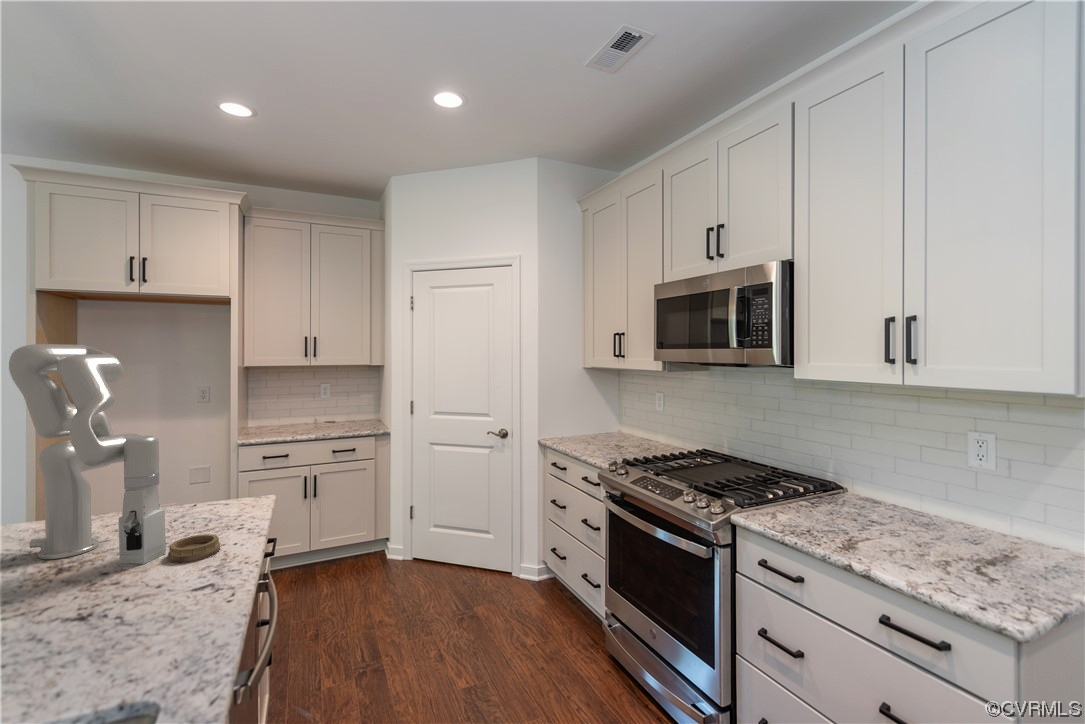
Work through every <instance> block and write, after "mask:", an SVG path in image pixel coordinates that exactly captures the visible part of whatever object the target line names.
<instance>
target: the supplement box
mask: <svg viewBox="0 0 1085 724" xmlns="http://www.w3.org/2000/svg"><path fill="white" fill-rule="evenodd" d="M117 520H118V543H119V546H118V547H119V548H118V549H119V564H133V565H134V564H135V565H136V564H137V565H145V564H146V563H148V562H149V563H150V562H151V561H153V560H156V559H158V558H159V556H160V557H162V556H163V554H164V555H166V554H167V544H166V539H167V538H166V510H165V509H159V510H156V511H154V512H153V513H151V514H149V515H148V516H146V517H145V518H143V524H142V525H141V531H140V534H141V537H142V548H141V549H140V550H131V551H127V550H126V536H125V532H124V530H125V529H124V527H123V525H122V516H120V517H118V519H117ZM139 522H140V521H138V520H137V518H135V519H134V521H133V522H132V523H139ZM134 528H135V529H137V527H134ZM161 555H162V556H161ZM157 557H158V558H157ZM155 558H156V559H155Z"/></svg>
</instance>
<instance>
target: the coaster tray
mask: <svg viewBox="0 0 1085 724" xmlns="http://www.w3.org/2000/svg"><path fill="white" fill-rule="evenodd" d="M219 540H220V539H219V536H218V535H217V534H210V533H206V534H196V535H192V536H188V537H187V536H186V537H183V538H180V539H178V540H175V541H174V542H172V543H171V544H169V551H168V553H167V560H169V561H168V562H170V563H172V562H177V563H176V564H183V563H182V562H188V563H192V562H191V561H194V562H197V560H199V561H202V560H201V559H203V560H206V559H209V558H211V557H213V556H215V555H216V553H217V552H218V553H220V551H221V543H220V541H219ZM219 550H220V551H219ZM218 553H217V554H218ZM212 555H213V556H212ZM210 556H211V557H210ZM208 557H209V558H208ZM205 558H206V559H205Z"/></svg>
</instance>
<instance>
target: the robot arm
mask: <svg viewBox="0 0 1085 724" xmlns="http://www.w3.org/2000/svg"><path fill="white" fill-rule="evenodd" d="M8 360H9V361H8V371H9V374H10V376H11V379H12V381H13V383H14V384H15V386H16V387H17V388H18V390H19V391H20V393H21V394H22V396H23V399H24V401H25V404H26V407H27V410H28V412H29V416H30V418H31V421H32V424H33V426H34V429H35V431H36V434H37V435H38V436H39V437H41V438H42V439H45V440H56V439H57V440H58V439H63V438H69V440H63V441H59V442H55V443H52V444H49V445H47V446H45V447H44V448H43V449H42V450H41V451H40V452H39V455H38V466H39V469H40V473H41V476H42V480H43V491H44V493H43V494H44V517H45V519H44V520H45V523H44V526H45V527H44V528H45V529H44V532H45V537H43V538H32V539H31V540H30V542H29V546H28V547H29V548H30V549H34V548H40V550H39V551H38V553H37V557H38V558H39V559H42V560H56V559H63V558H69V557H74V556H77V555H81V554H85V553H88V552H90V551H92V550H94V549H96V548H97V547H99V545H100V540H99V539H97V538H92V537H93V533H92V531H93V529H92V528H93V527H92V522H93V521H92V487H91V484H90V483H89V480H87V478H86V477H84V475H82V472H86V471H91V470H95V469H100V468H105V467H107V466H110V465H112V464H117V463H122V462H123V473H124V474H123V484H124V487H123V488H124V493H123V494H124V495H123V501H122V515H121V517H122V525H123V527H124V529H125V530H124V532H125V536H126V550H127V551H131V550H140V549H141V548H142V537H141V534H140V531H141V525H142V524H143V518H145V517H146V516H148V515H149V514H151V513H153V512H154V511H156V510H160V506H161V503H160V496H159V495H160V494H159V485H160V456H159V455H160V448H159V447H160V445H159V443H160V442H159V438H158V437H157V436H156V435H155V436H154V435H140V434H137V433H130V432H129V433H121V434H114V432H113V429H112V427H111V424H110V421H109V418H108V415H107V412H106V411H105V410H108V409H109V408H110V407H112V406H113V405H114V404H115V402H116V397H115V395H114V393H113V392H112V389H111V387H110V386H109V384H108V383H113V382H117V381H118V380H120V378H122V375H123V373H124V367H123V365H122V362H121V361H120V359H118V358H117V357H116V356H115V355H113V354H111V353H109V352H107V351H103V350H100V349H99V348H95V347H91V346H89V345H84V344H64V343H63V344H58V343H57V344H56V343H36V344H35V343H34V344H27V345H22V346H20V347H18V348H16V349H15V350H13V352H12V353H11V355H10V356H9V359H8ZM49 374H58V375H59V377H60V379H61V381H62V384H63V386H62V385H61V384H60V383H59V382H58V381H57V380H55V379H54V378H53V377H50V376H49ZM64 387H65V388H64ZM65 389H66V390H65ZM67 393H68V394H67ZM68 396H69V397H70V399H71V401H72V402H71V401H70V400H69V398H68ZM135 518H137V520H138V521H140V522H139V523H132V522H133V521H134V519H135ZM134 527H137V529H135V528H134Z"/></svg>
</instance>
